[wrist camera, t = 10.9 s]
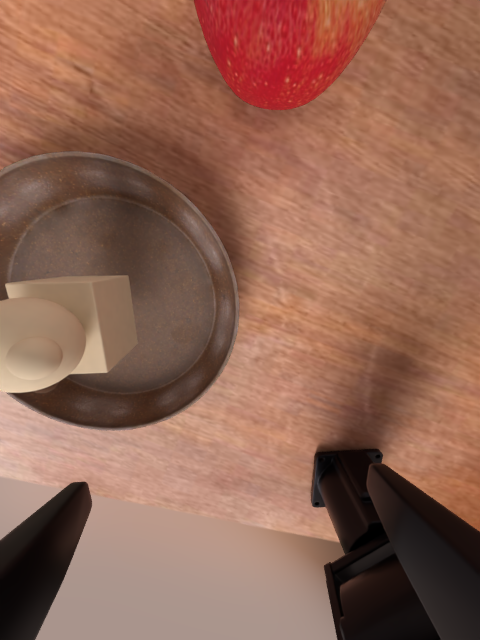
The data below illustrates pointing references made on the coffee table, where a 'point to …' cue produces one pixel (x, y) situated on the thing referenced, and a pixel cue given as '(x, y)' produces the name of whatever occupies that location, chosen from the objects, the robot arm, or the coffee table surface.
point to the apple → (284, 45)
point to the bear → (63, 330)
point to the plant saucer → (144, 276)
